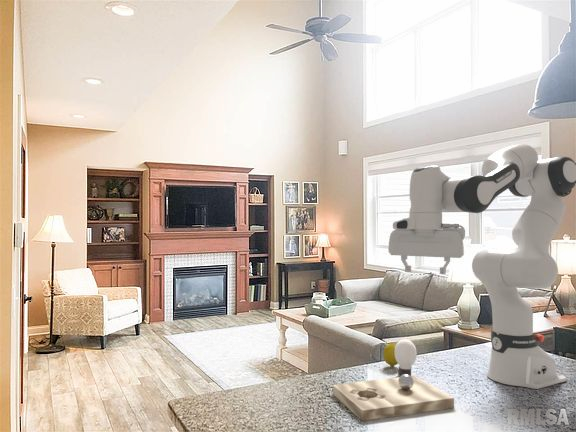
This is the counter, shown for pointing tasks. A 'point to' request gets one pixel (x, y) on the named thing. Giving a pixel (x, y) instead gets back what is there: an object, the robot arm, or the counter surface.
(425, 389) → the beige flat wooden board
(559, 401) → the counter surface
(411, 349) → the light bulb
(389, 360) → the lemon
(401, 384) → the ball
